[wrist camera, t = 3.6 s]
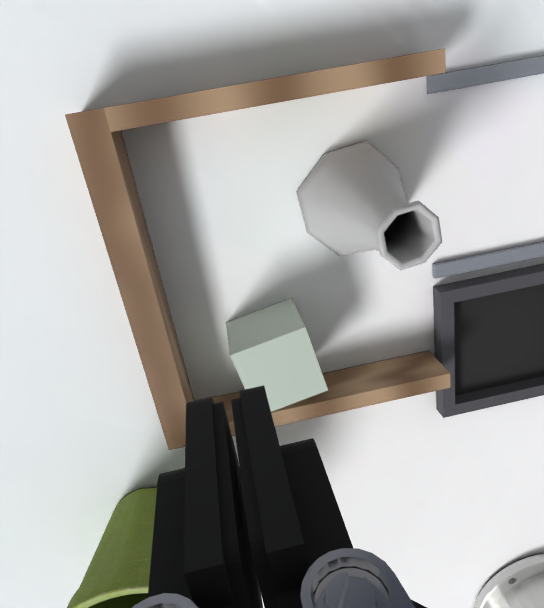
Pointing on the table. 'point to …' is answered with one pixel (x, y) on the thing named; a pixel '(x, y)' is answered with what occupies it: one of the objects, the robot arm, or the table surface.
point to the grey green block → (275, 354)
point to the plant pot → (121, 556)
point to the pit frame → (490, 339)
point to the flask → (366, 208)
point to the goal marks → (472, 79)
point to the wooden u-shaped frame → (143, 267)
